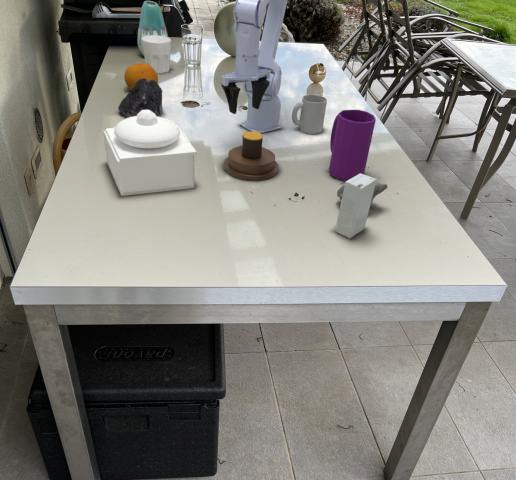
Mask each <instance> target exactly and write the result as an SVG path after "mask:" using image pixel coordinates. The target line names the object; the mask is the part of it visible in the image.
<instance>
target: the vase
mask: <svg viewBox="0 0 516 480" xmlns="http://www.w3.org/2000/svg"><path fill="white" fill-rule="evenodd" d="M140 9H141V10H140V17H139V25H138V29H137V37H136V38H137V39H136V40H137V47H138V48H137V49H138V51H139V53H140V54H141V55H142V56H143V57H144V50H143V44H142V37H144V36H150V35H158V36H165V37H168V38H169V35H168V31H167V27H166V23H165V21H164V15H163V12H162V9H161V7H160V5H159V4H158V3H157V2H156V1H152V0H144V1H143V3H142V6H141V8H140Z"/></svg>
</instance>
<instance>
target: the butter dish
mask: <svg viewBox="0 0 516 480" xmlns="http://www.w3.org/2000/svg"><path fill="white" fill-rule="evenodd" d="M102 133H103V142H104V149H105V157H106V162H107V166H108V168H109V170H110V173H111V175H112V178H113V180H114V182H115V184H116V187H117V190H118V192H119V194H120V196H121V197H125V196H132V195H133V196H134V195H143V194H151V193H152V194H153V193H160V192H170V191H180V190H188V189H194V188H195V156H197V155H198V153H197V150H196V148H194V146H193V145H192V144H191V142H190V140H189V139H188V138H187V136H186V135H185V133H184V132H183V131H182V129H181V128H180V126H179V125H178V124H177V122H173V121H172V120H170V119H168V118H165V117H162V116H159V117H158V116H156V115H155V113H153V112H152V111H150V110H141V111H140V112H139V113H138V114H137V116H134V117H129V118H128V117H127V118H126V117H125V118H124V119H122V120H120V121H119V122H118V123H117V124H116V125H115V126H114V127H107V128H105V130H103V131H102Z"/></svg>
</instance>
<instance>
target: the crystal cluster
mask: <svg viewBox="0 0 516 480" xmlns="http://www.w3.org/2000/svg"><path fill="white" fill-rule="evenodd" d="M117 109H118V111H119V113H121V114H123V115H124V116H126V117H127V118H129V117H134V116H137V114H138V113H139V112H140V111H141V110H150V111H152V112H153V113H155V115H156V116H158V117H161V115H162V114H163V90H162V88H161V86H160V85H159V82H158V83H157V82H156V81H155V80H151V81H150V82H149V81H148V80H147V79H145V78H144V79H139V80H138V81H137V82H136V83H135V86H134V88H133V89H130V91H129V92H128V93H127V94H126V95H125V97H123V99H122V100H121V101H120V103H119V105H118V107H117Z"/></svg>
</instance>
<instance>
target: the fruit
mask: <svg viewBox="0 0 516 480" xmlns="http://www.w3.org/2000/svg"><path fill="white" fill-rule="evenodd" d="M158 75H159V74H158V73H156V71H155V70H154V69H153V67H151V66H150V65H149V64H146V63H145V62H137V63H134V64H131V65H129V66H128V67H127V68H126V69H125V71H124V76H123V79H124V83H125V85H126V86H127V87H128V88H129V89H130V90H132V89H133V88H134V86H135V83H136V82H137V81H138V80H139V79H144V78H145V79H147V80H148V81H149V82H150V81H151V80H155V81H156V82H157V83H158V84H159V76H158Z"/></svg>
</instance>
